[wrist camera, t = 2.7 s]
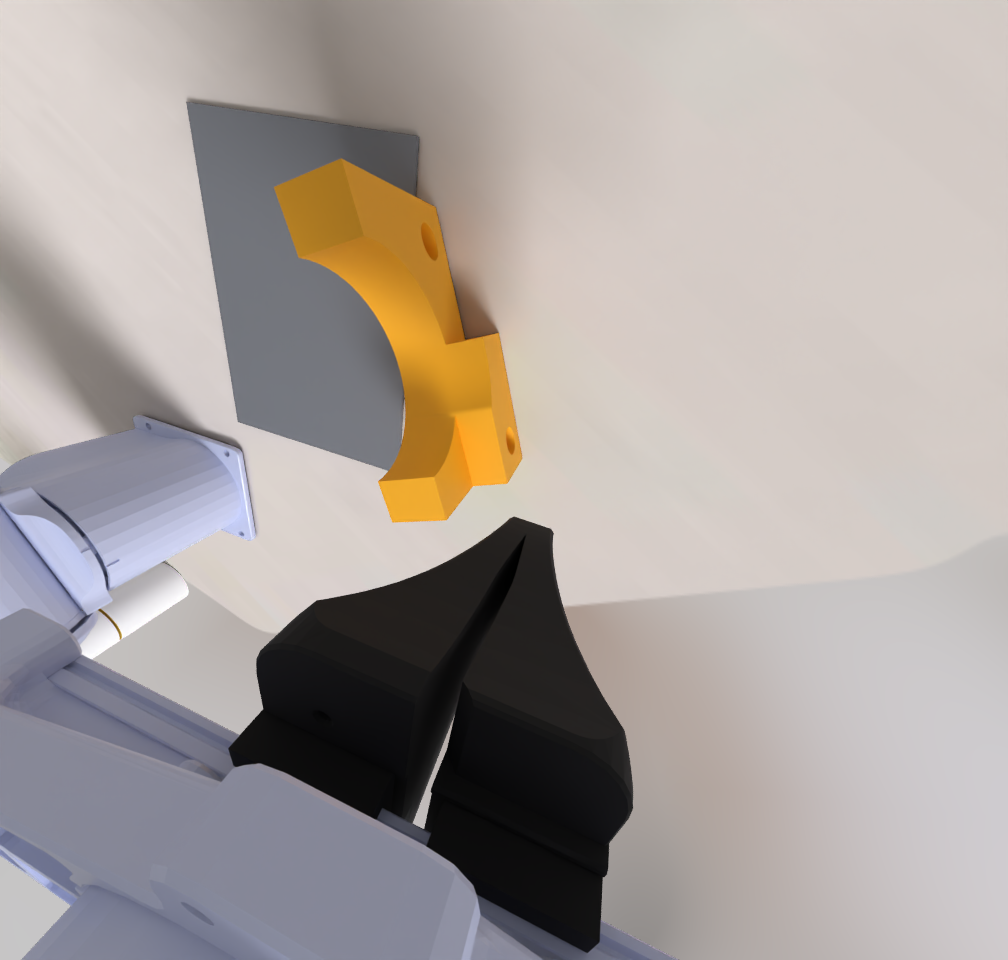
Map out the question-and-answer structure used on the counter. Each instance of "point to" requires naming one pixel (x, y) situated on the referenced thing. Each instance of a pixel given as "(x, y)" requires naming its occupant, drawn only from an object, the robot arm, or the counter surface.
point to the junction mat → (297, 284)
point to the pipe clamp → (412, 334)
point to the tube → (134, 607)
